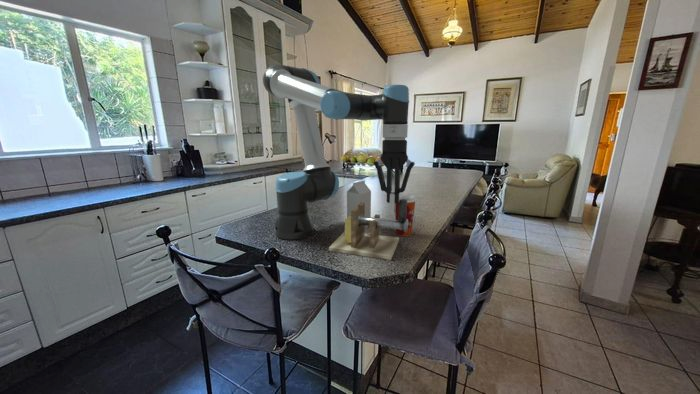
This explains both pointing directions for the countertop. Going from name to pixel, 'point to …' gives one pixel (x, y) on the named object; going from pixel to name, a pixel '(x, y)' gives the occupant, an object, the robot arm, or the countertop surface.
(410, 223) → the coffee cup
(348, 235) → the spacer
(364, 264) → the countertop surface
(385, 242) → the wooden stand with blocks
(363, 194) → the milk carton
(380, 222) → the silver bent bar
